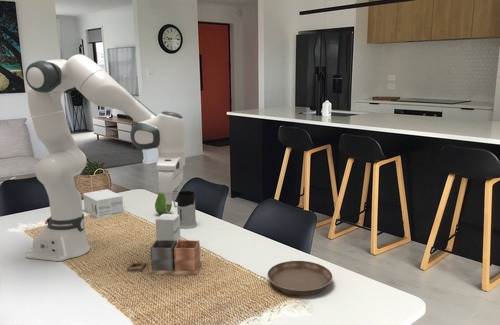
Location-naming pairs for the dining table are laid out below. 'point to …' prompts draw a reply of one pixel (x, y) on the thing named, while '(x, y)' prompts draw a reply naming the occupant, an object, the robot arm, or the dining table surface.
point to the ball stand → (130, 268)
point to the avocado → (162, 205)
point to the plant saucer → (299, 277)
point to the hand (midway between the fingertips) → (172, 199)
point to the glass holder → (186, 209)
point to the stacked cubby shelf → (175, 257)
